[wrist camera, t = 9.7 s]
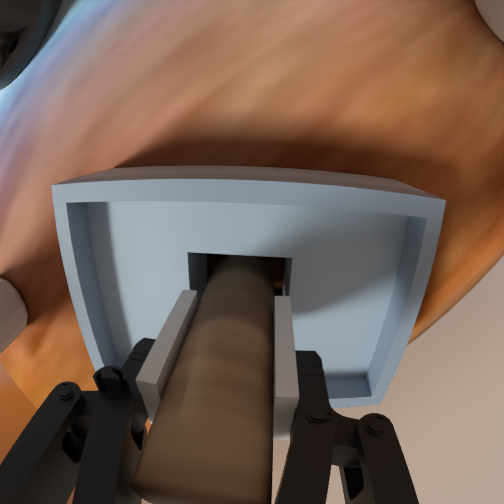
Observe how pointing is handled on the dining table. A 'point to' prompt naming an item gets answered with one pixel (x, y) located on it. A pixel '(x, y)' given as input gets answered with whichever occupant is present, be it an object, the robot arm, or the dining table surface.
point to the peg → (217, 398)
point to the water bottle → (10, 314)
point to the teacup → (493, 15)
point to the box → (253, 244)
